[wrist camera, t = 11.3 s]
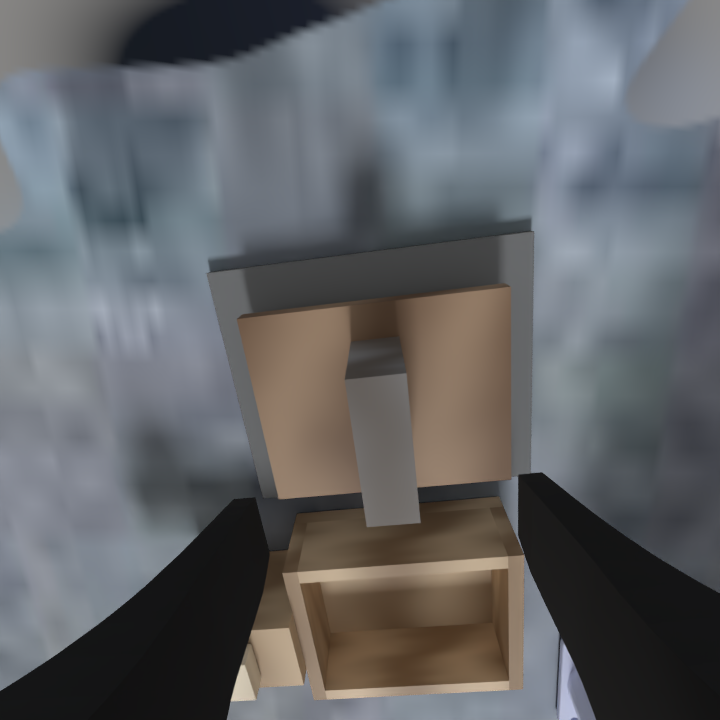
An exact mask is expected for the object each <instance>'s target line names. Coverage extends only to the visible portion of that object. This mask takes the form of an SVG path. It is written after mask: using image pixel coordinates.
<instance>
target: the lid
mask: <svg viewBox="0 0 720 720" xmlns="http://www.w3.org/2000/svg"><path fill="white" fill-rule="evenodd" d="M237 323H238V327H239V331H240V336H241V340H242V344H243V348H244V353H245V357H246V361H247V365H248V370H249V374H250V378H251V382H252V387H253V391H254V395H255V400H256V404H257V408H258V412H259V417H260V421H261V425H262V429H263V434H264V438H265V442H266V446H267V451H268V455H269V459H270V464H271V468H272V472H273V476H274V481H275V485H276V489H277V493H278V498H279V499H289V498H301V497H313V496H324V495H336V494H348V493H359V492H362V499H363V505H364V512H365V518H366V525H367V527H376V526H389V525H401V524H414V523H421V521H420V511H419V500H418V490H417V488H418V487H429V486H441V485H453V484H464V483H476V482H488V481H499V480H511V287H510V286H509V285H507V284H505V283H502V284H494V285H485V286H477V287H468V288H460V289H451V290H443V291H434V292H426V293H418V294H409V295H401V296H392V297H384V298H375V299H367V300H358V301H350V302H342V303H333V304H325V305H316V306H308V307H299V308H291V309H282V310H274V311H266V312H257V313H249V314H242V315H241V316H240V317H239V318H237Z"/></svg>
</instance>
